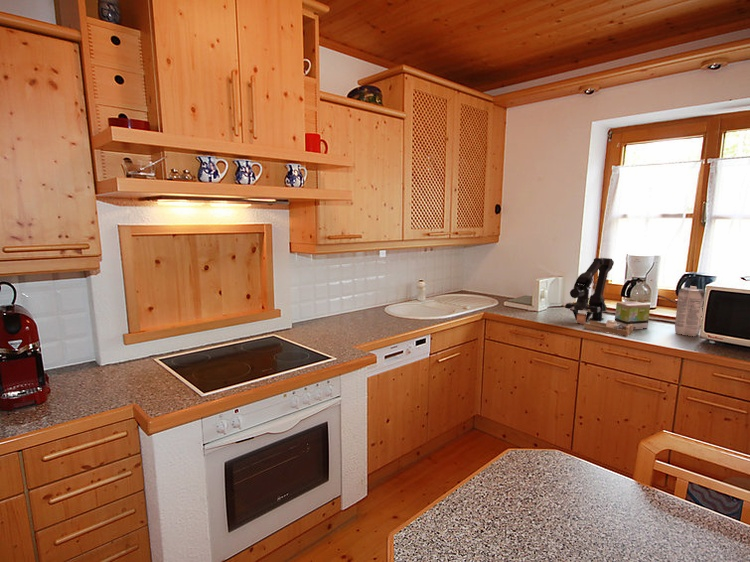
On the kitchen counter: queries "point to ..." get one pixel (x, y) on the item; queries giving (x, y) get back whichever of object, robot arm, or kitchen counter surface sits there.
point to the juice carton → (689, 311)
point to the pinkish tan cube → (581, 318)
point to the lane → (602, 327)
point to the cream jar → (611, 323)
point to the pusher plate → (619, 326)
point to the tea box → (632, 314)
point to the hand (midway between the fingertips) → (581, 321)
